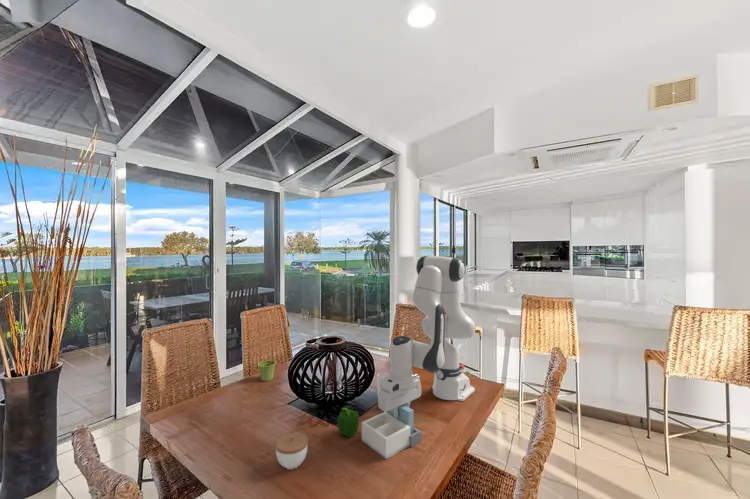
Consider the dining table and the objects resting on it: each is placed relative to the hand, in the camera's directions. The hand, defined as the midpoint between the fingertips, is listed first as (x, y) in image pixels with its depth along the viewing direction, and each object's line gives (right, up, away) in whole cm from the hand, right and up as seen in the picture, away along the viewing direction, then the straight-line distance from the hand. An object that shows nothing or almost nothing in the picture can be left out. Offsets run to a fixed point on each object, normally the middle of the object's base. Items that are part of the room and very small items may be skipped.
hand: (400, 414), depth 128 cm
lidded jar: (-38, -9, -16) cm, 43 cm away
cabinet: (-4, -8, -3) cm, 10 cm away
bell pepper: (-20, -8, +1) cm, 22 cm away
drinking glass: (-6, -8, +21) cm, 23 cm away
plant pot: (-69, -7, +52) cm, 87 cm away
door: (0, -8, 0) cm, 8 cm away
